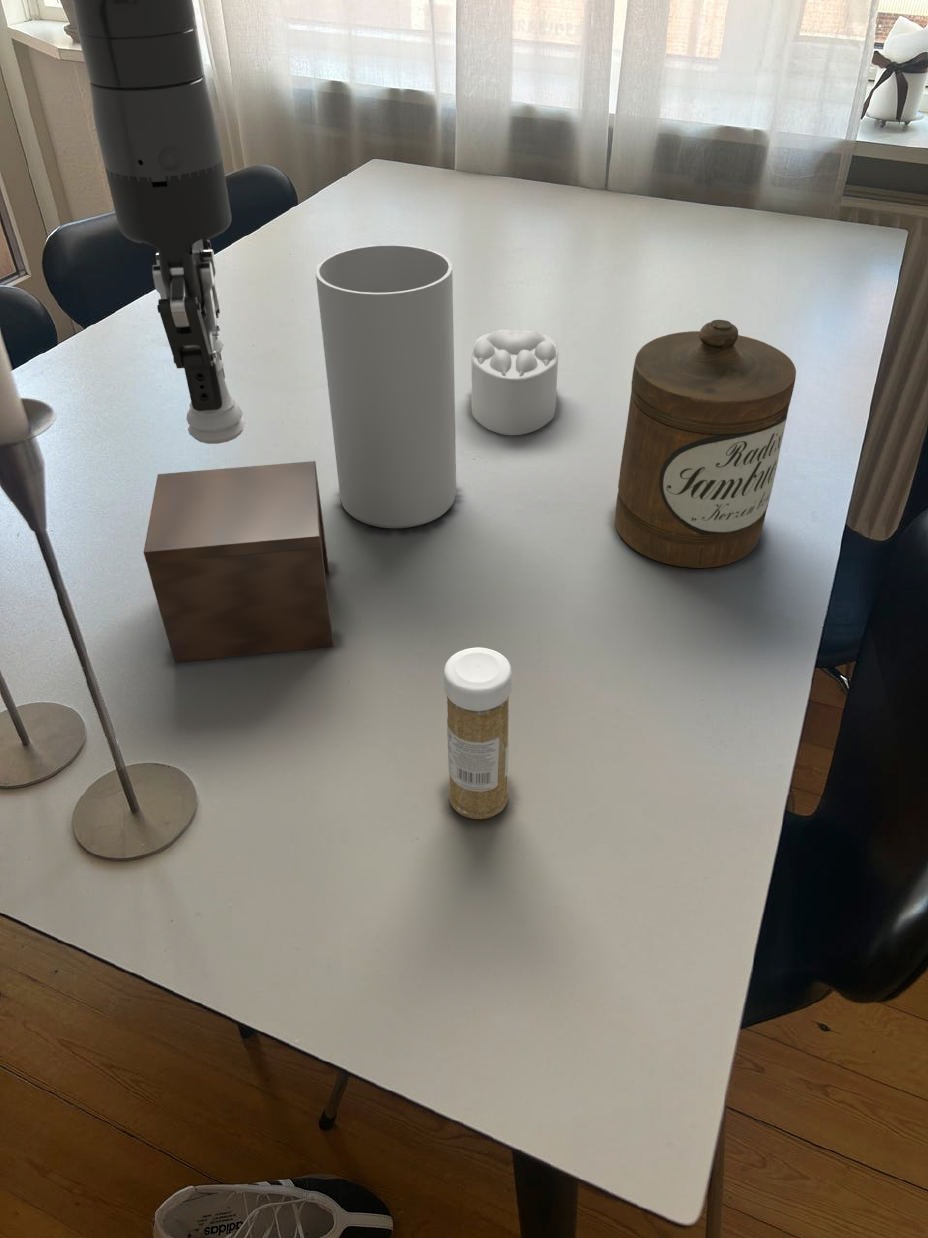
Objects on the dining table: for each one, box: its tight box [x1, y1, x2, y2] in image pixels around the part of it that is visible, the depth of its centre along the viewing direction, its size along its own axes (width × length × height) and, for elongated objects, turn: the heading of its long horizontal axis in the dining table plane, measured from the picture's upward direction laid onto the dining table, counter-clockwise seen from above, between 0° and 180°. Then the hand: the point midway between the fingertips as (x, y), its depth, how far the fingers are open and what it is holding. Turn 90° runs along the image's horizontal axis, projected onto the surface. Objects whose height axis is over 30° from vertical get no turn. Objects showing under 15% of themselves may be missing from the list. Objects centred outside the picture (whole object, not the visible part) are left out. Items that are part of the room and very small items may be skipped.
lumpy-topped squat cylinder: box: [470, 328, 559, 436], centre depth 117 cm, size 10×13×9 cm
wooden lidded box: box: [143, 460, 335, 663], centre depth 86 cm, size 14×12×12 cm
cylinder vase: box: [315, 243, 457, 529], centre depth 96 cm, size 12×12×25 cm
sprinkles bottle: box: [443, 647, 513, 820], centre depth 68 cm, size 5×5×14 cm
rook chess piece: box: [186, 331, 246, 445], centre depth 74 cm, size 4×4×8 cm
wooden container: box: [614, 319, 797, 569], centre depth 93 cm, size 15×15×22 cm
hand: (209, 395), depth 74 cm, fingers closed on rook chess piece, 3 cm apart
